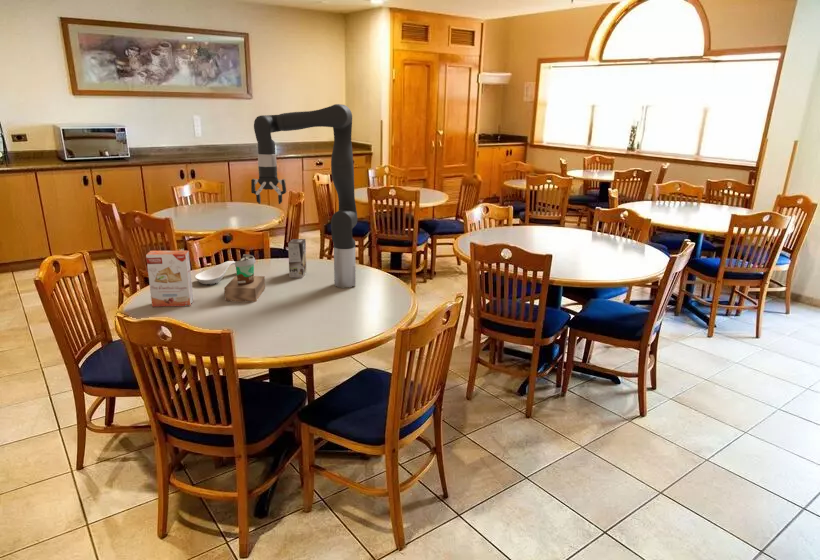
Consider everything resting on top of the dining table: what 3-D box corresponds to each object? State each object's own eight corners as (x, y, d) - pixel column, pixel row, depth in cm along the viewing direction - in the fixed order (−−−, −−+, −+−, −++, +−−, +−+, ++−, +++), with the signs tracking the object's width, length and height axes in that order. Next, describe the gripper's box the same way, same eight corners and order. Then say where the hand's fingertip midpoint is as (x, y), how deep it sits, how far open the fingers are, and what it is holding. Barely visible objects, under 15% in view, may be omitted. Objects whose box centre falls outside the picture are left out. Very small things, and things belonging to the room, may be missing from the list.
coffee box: (303, 278, 243) (301, 243, 238) (289, 277, 243) (287, 242, 239) (307, 272, 252) (306, 238, 247) (293, 271, 252) (292, 238, 247)
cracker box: (151, 307, 203) (144, 254, 197) (156, 302, 209) (149, 250, 203) (190, 306, 205) (185, 253, 199) (194, 301, 211) (188, 249, 205)
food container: (252, 286, 212) (250, 261, 209) (236, 286, 212) (234, 261, 209) (260, 277, 224) (258, 254, 221) (245, 277, 224) (243, 253, 221)
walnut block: (265, 289, 228) (264, 276, 226) (256, 302, 213) (255, 288, 211) (236, 289, 227) (235, 275, 225) (225, 302, 212) (224, 287, 210)
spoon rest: (207, 289, 226) (206, 272, 224) (189, 283, 232) (188, 267, 230) (251, 275, 245) (250, 260, 243) (233, 271, 251) (232, 256, 249)
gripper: (286, 164, 229) (287, 202, 234) (252, 163, 228) (254, 201, 233) (283, 166, 222) (285, 205, 227) (248, 165, 221) (250, 204, 226)
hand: (269, 203), depth 230 cm, fingers open, 8 cm apart
